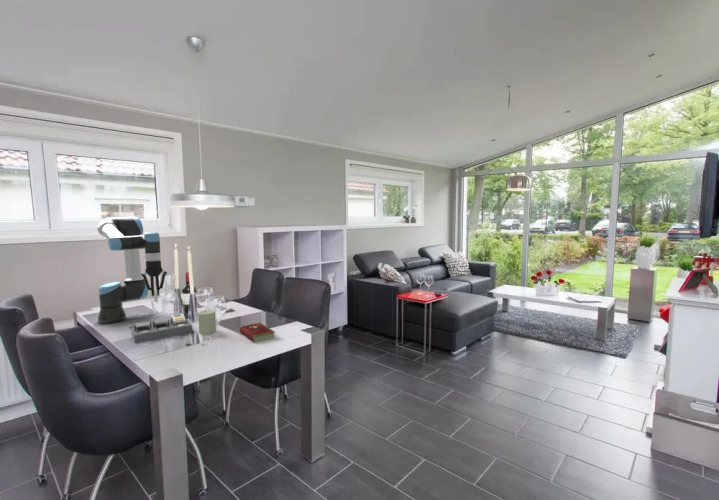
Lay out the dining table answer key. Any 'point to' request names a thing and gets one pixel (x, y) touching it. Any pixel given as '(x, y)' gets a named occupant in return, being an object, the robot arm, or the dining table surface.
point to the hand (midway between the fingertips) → (155, 301)
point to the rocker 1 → (143, 324)
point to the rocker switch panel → (160, 330)
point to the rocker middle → (160, 321)
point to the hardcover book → (257, 332)
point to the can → (207, 322)
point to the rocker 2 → (178, 318)
